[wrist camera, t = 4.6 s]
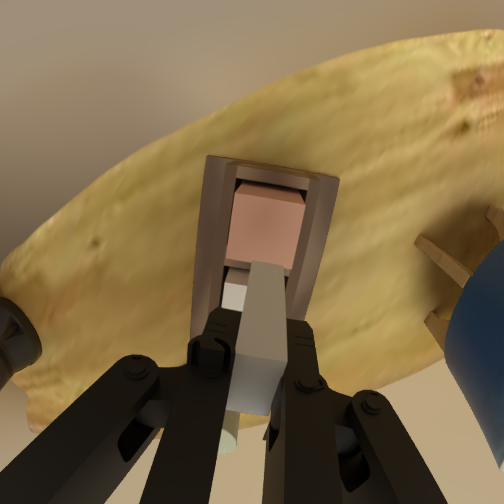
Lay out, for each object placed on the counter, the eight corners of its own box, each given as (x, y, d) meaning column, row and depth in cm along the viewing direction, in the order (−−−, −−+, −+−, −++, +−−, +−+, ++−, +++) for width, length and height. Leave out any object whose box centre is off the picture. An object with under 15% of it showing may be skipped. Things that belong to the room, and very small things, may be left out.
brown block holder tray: (191, 336, 39) (178, 371, 32) (208, 155, 30) (190, 159, 23) (291, 353, 39) (293, 390, 32) (338, 178, 30) (355, 188, 23)
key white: (228, 294, 33) (219, 328, 27) (234, 253, 31) (224, 282, 25) (272, 302, 33) (271, 337, 27) (281, 261, 31) (283, 292, 25)
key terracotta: (236, 231, 28) (225, 258, 22) (243, 180, 26) (234, 192, 20) (287, 240, 28) (291, 269, 22) (298, 190, 26) (305, 205, 20)
